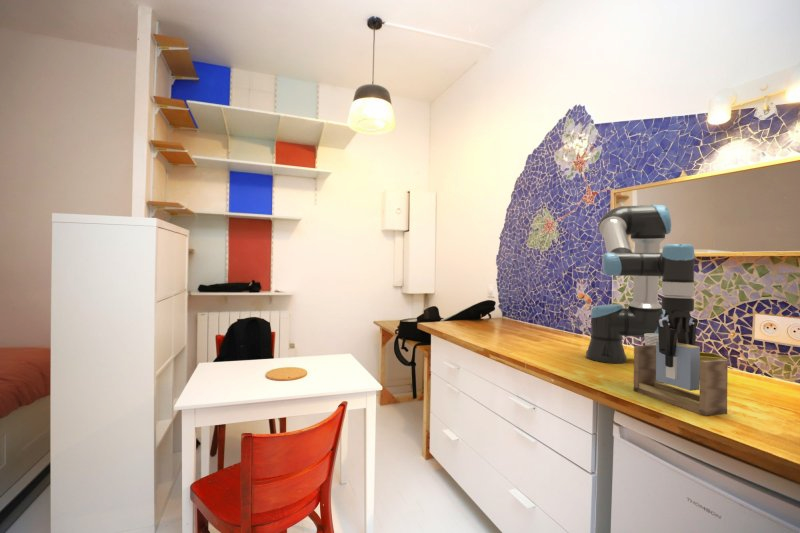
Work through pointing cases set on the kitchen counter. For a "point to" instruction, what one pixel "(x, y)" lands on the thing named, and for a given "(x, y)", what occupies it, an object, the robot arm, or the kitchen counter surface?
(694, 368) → the door panel
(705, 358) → the flower pot
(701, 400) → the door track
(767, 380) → the kitchen counter surface
